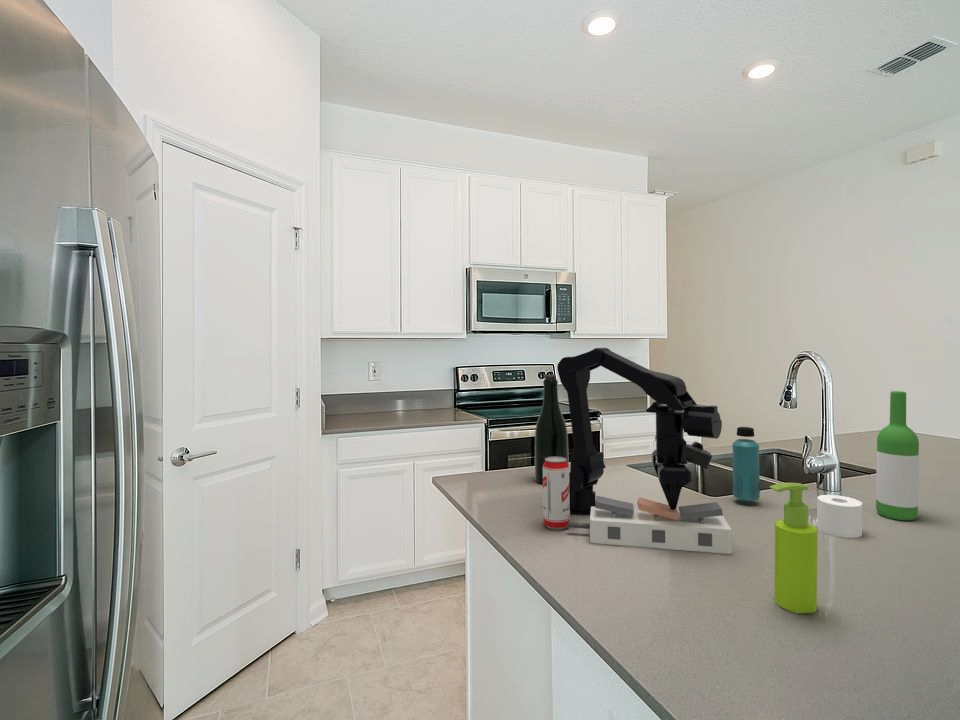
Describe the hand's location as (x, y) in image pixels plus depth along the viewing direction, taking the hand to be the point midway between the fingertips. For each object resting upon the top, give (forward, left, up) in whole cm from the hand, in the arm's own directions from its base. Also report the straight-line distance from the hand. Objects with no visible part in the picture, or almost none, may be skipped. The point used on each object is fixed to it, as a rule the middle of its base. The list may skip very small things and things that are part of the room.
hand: (670, 502), depth 113 cm
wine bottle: (+54, +22, -7) cm, 58 cm away
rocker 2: (-3, -4, -1) cm, 6 cm away
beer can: (-25, 0, -7) cm, 26 cm away
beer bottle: (-30, +37, -7) cm, 48 cm away
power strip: (-6, -4, -7) cm, 10 cm away
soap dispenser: (+16, -27, -7) cm, 32 cm away
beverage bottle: (+22, +26, -7) cm, 34 cm away
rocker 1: (-12, -4, -1) cm, 13 cm away
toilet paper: (+38, +11, -7) cm, 40 cm away
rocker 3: (+6, -4, -1) cm, 7 cm away
